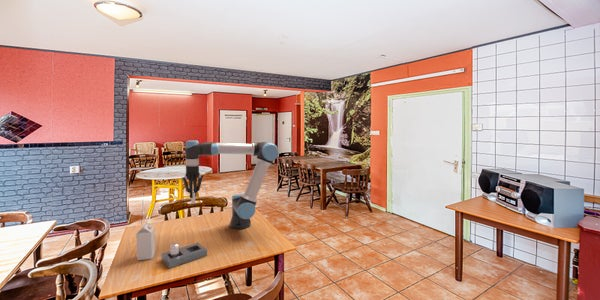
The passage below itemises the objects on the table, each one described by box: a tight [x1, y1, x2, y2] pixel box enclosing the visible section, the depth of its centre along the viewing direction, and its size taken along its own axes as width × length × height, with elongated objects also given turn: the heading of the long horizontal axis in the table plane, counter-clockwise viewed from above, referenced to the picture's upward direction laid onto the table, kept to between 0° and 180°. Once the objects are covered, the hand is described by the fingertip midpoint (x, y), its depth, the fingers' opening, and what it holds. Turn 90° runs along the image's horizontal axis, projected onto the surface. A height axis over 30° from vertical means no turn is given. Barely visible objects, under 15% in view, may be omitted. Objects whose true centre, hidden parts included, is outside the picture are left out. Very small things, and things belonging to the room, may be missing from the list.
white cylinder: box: [169, 242, 180, 258], centre depth 142 cm, size 4×4×9 cm
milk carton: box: [135, 221, 156, 261], centre depth 145 cm, size 7×7×19 cm
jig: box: [161, 242, 208, 269], centre depth 146 cm, size 20×12×4 cm, turn 134°
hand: (193, 202), depth 166 cm, fingers closed
